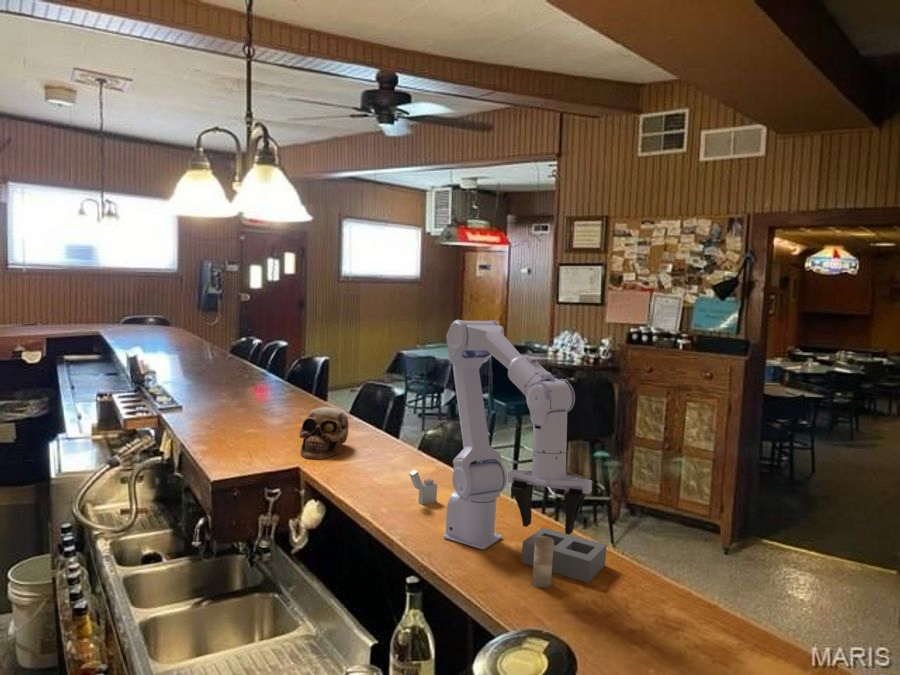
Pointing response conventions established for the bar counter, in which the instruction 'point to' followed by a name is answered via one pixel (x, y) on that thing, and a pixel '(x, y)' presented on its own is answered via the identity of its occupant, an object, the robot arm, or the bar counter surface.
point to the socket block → (569, 554)
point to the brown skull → (323, 433)
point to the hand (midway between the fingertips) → (547, 528)
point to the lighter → (424, 488)
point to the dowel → (543, 562)
